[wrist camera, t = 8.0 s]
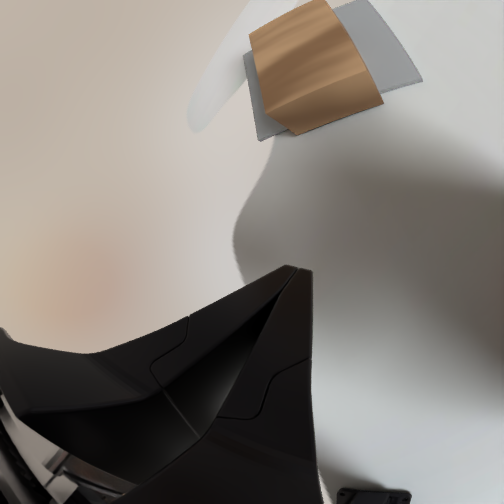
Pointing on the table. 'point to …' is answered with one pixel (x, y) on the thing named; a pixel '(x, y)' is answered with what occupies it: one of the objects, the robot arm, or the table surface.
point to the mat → (370, 48)
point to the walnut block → (311, 69)
